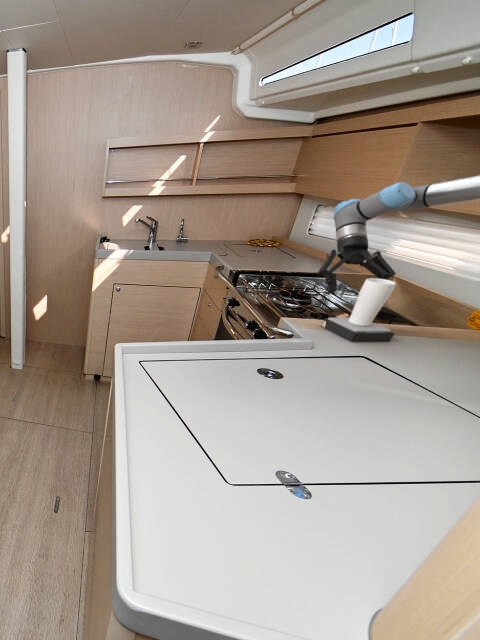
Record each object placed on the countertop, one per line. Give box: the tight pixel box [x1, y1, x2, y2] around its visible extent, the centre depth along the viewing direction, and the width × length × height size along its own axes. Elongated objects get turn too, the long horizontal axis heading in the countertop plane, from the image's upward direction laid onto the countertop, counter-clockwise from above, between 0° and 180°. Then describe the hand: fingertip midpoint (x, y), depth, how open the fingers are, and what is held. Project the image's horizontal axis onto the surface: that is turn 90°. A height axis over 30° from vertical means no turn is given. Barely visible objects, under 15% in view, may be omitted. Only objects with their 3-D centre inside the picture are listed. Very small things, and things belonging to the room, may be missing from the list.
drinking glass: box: [348, 277, 397, 326], centre depth 116 cm, size 7×7×15 cm
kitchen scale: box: [323, 317, 395, 343], centre depth 120 cm, size 12×12×4 cm
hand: (357, 293), depth 121 cm, fingers open, 13 cm apart
